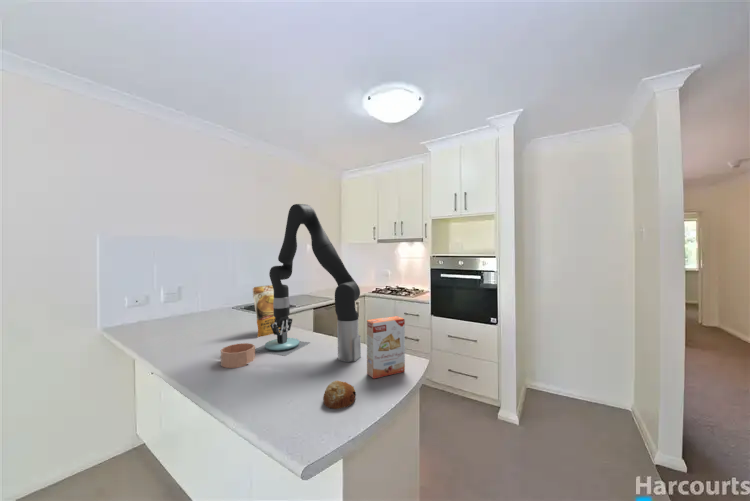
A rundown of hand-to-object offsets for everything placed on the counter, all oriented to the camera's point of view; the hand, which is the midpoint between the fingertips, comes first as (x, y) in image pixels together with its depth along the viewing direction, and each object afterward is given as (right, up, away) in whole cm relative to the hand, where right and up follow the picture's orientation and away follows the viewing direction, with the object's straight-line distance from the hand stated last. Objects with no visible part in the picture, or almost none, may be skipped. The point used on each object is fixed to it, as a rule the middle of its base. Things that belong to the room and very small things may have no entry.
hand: (282, 341), depth 146 cm
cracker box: (+50, -3, -31) cm, 59 cm away
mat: (0, -3, 0) cm, 3 cm away
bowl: (-14, -4, -17) cm, 22 cm away
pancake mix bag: (-15, -4, +24) cm, 29 cm away
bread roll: (+34, -3, -52) cm, 62 cm away
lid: (0, -2, 0) cm, 2 cm away
